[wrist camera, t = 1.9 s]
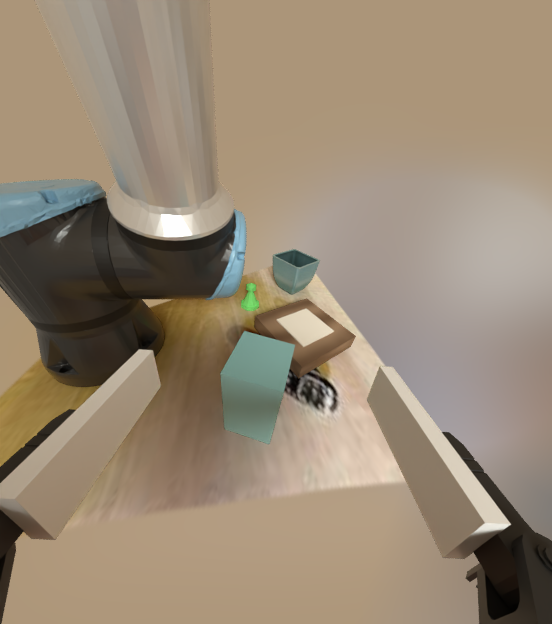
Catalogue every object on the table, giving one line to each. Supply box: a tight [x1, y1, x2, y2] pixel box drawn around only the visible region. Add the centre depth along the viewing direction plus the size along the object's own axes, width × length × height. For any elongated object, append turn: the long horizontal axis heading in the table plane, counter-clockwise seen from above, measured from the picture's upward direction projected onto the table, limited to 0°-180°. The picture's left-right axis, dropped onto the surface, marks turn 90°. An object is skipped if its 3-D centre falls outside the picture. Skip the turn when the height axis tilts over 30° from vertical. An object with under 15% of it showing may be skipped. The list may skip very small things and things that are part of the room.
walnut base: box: [254, 299, 356, 378], centre depth 40 cm, size 14×14×3 cm
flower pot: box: [273, 249, 320, 294], centre depth 53 cm, size 9×9×9 cm
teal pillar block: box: [220, 331, 295, 444], centre depth 24 cm, size 6×6×12 cm
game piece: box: [241, 283, 259, 311], centre depth 45 cm, size 4×4×6 cm
